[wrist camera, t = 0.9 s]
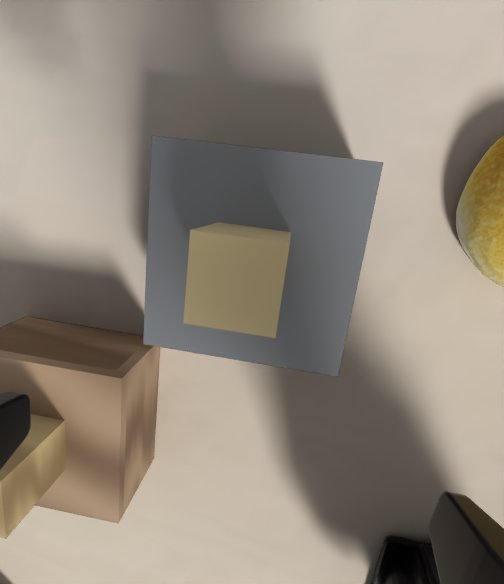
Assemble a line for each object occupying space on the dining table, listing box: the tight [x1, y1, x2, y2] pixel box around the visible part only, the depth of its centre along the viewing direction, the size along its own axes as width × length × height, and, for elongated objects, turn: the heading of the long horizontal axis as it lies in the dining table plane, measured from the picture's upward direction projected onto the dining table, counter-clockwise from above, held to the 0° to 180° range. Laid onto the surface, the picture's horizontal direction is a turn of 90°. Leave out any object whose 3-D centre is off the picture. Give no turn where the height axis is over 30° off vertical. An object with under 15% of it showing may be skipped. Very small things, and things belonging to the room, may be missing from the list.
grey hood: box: [143, 136, 383, 377], centre depth 15 cm, size 9×9×9 cm
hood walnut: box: [0, 317, 160, 539], centre depth 19 cm, size 9×9×9 cm
